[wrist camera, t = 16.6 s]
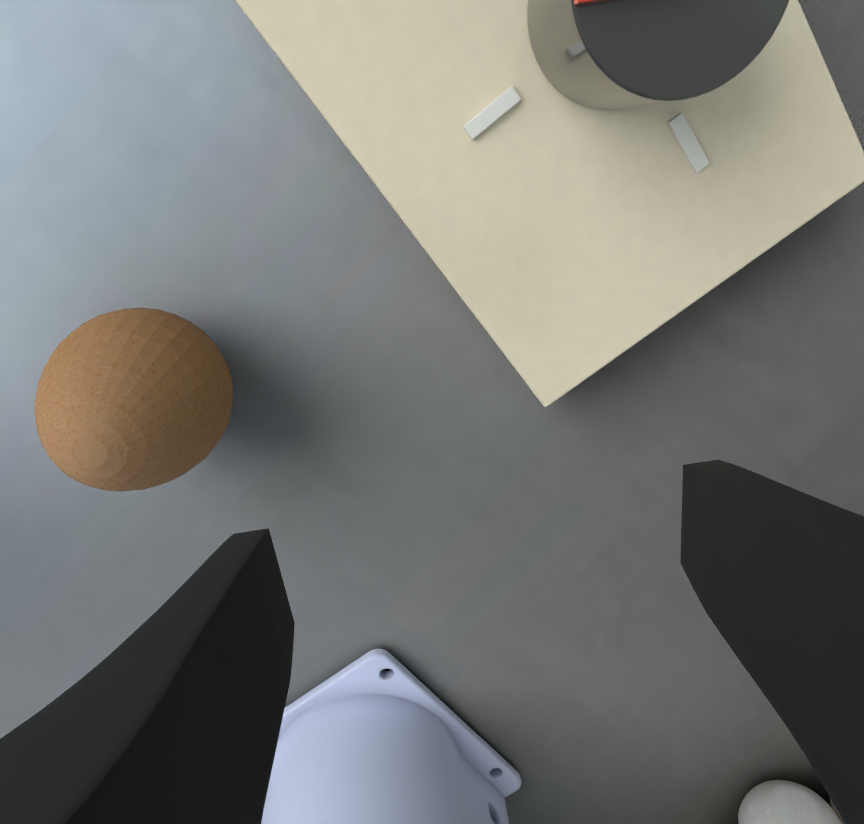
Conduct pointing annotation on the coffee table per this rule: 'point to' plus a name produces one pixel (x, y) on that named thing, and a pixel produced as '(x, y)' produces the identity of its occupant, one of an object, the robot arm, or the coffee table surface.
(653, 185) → the cream dial panel
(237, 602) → the robot arm
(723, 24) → the knob
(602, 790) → the coffee table surface
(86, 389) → the egg
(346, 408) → the coffee table surface
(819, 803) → the rainbow baby rattle
